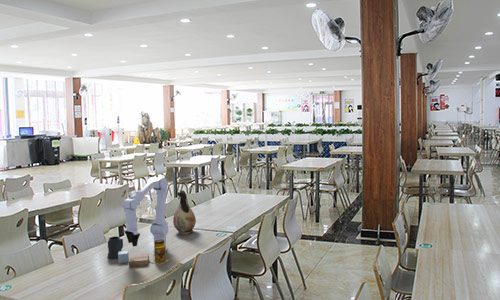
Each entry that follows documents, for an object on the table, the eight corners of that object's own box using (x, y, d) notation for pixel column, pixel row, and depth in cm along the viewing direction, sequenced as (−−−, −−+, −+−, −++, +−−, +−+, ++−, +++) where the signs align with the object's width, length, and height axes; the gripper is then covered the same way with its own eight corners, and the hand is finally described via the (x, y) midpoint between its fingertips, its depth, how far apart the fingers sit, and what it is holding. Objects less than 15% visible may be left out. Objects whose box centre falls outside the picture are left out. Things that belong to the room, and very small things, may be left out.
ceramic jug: (171, 231, 287) (169, 189, 284) (192, 227, 293) (190, 186, 290) (177, 237, 271) (175, 193, 269) (199, 234, 278) (197, 190, 275)
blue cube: (119, 259, 234) (119, 251, 233) (128, 259, 235) (128, 250, 234) (118, 263, 229) (117, 254, 228) (127, 262, 230) (127, 253, 229)
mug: (118, 259, 234) (116, 240, 233) (103, 258, 236) (102, 239, 235) (129, 252, 245) (128, 234, 244) (115, 251, 247) (114, 233, 246)
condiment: (160, 264, 224) (159, 243, 223) (149, 262, 228) (147, 241, 227) (169, 260, 230) (168, 239, 229) (158, 258, 234) (157, 237, 233)
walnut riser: (130, 260, 231) (130, 255, 231) (149, 258, 233) (148, 253, 233) (129, 267, 222) (128, 261, 221) (148, 265, 223) (147, 259, 223)
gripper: (120, 219, 230) (121, 242, 232) (127, 224, 218) (129, 249, 219) (132, 216, 234) (134, 240, 235) (140, 222, 222) (142, 246, 223)
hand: (132, 244), depth 228 cm, fingers open, 7 cm apart
